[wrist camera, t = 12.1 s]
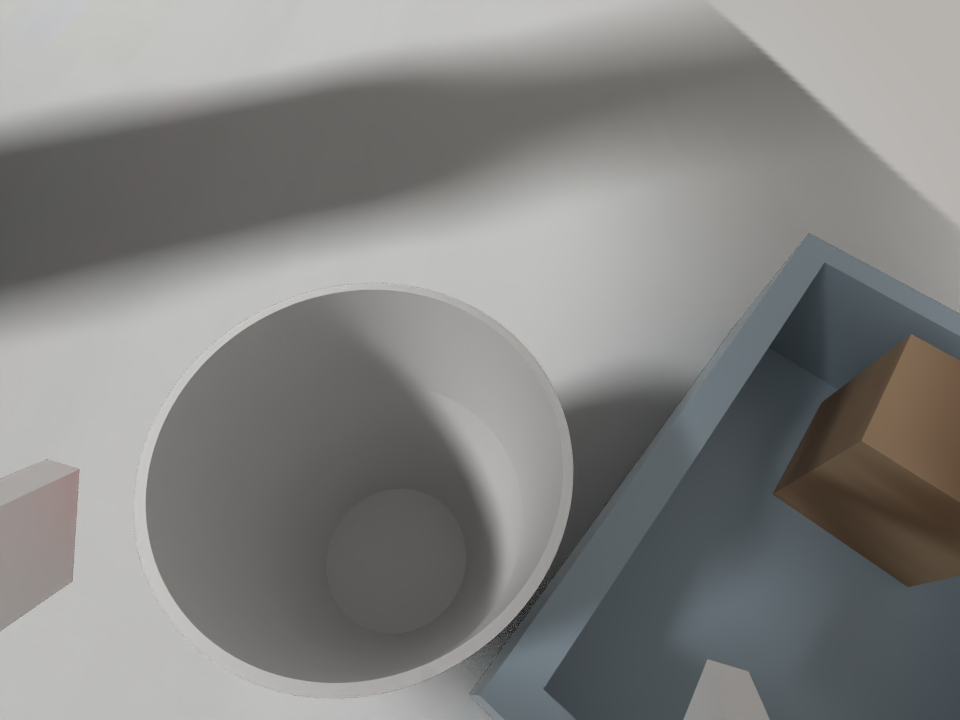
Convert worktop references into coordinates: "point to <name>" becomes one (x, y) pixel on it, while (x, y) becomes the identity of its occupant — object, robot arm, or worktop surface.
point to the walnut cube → (887, 464)
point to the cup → (353, 490)
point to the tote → (745, 541)
